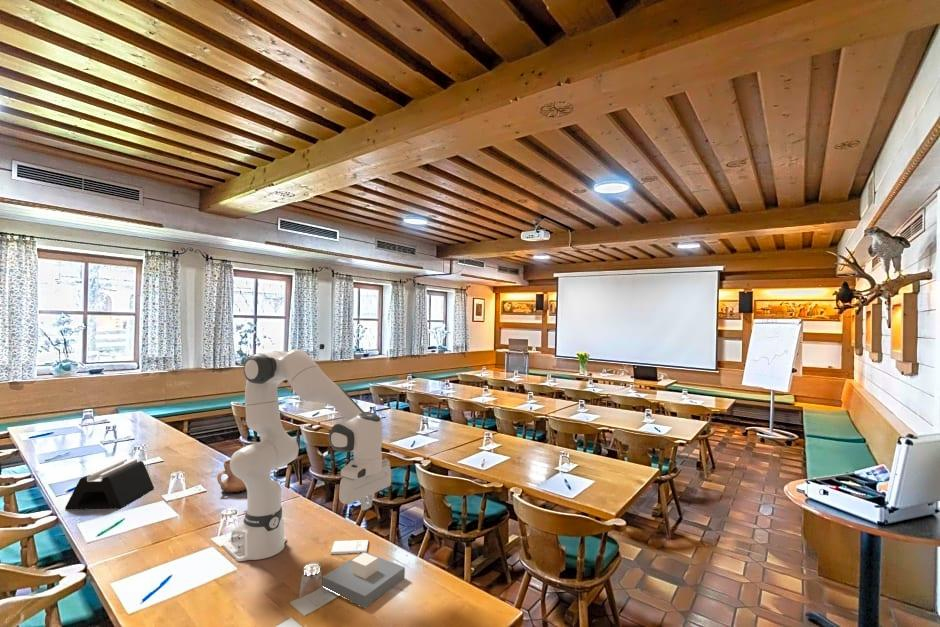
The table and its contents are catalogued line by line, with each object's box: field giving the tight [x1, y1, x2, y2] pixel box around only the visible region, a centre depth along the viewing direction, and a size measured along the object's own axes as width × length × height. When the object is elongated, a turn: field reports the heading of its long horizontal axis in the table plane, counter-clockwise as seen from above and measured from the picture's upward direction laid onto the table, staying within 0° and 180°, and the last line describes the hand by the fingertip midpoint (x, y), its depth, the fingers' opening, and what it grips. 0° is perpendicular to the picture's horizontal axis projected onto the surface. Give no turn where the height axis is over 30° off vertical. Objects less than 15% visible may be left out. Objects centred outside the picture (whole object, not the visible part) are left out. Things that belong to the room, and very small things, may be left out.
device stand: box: [64, 458, 155, 511], centre depth 198 cm, size 22×22×15 cm
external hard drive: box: [330, 539, 369, 555], centre depth 159 cm, size 2×8×12 cm
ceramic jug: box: [216, 458, 247, 494], centre depth 212 cm, size 18×14×14 cm
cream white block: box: [351, 553, 378, 579], centre depth 138 cm, size 6×6×8 cm
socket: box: [321, 551, 406, 609], centre depth 138 cm, size 18×18×4 cm
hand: (366, 508), depth 138 cm, fingers closed
